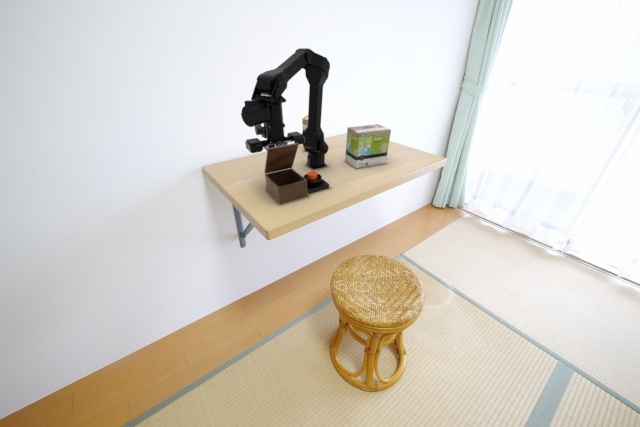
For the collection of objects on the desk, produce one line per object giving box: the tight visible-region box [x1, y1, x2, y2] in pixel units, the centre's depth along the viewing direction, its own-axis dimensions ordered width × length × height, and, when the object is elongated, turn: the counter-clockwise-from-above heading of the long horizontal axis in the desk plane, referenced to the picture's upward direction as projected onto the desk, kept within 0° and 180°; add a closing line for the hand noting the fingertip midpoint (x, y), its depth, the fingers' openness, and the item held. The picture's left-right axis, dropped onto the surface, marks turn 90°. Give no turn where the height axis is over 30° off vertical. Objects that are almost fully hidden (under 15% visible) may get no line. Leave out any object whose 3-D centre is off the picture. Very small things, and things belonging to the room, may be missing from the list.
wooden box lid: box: [264, 142, 299, 175], centre depth 85 cm, size 12×10×1 cm
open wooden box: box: [264, 167, 309, 205], centre depth 88 cm, size 12×10×6 cm
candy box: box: [301, 114, 308, 152], centre depth 124 cm, size 9×4×15 cm, turn 162°
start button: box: [306, 170, 318, 179], centre depth 92 cm, size 4×4×2 cm
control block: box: [302, 173, 330, 195], centre depth 93 cm, size 10×8×4 cm
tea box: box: [344, 123, 392, 169], centre depth 109 cm, size 15×10×15 cm, turn 114°
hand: (278, 166), depth 89 cm, fingers closed, pressing on wooden box lid
